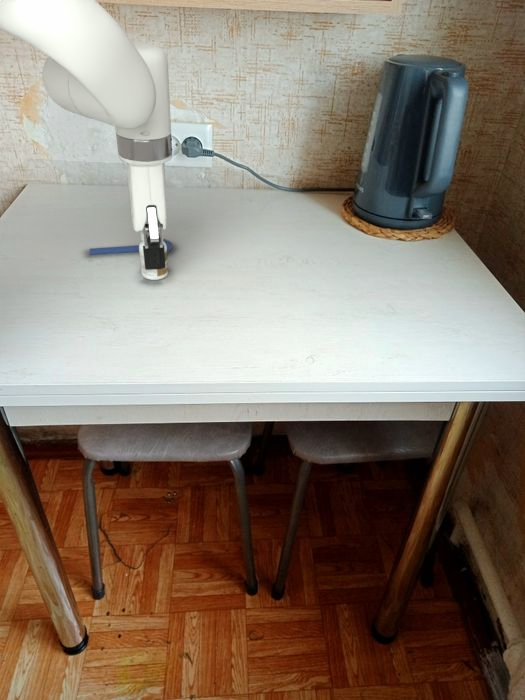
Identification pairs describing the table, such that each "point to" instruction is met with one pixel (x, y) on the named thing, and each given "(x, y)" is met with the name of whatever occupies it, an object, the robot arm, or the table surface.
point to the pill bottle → (154, 273)
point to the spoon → (122, 249)
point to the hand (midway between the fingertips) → (153, 259)
